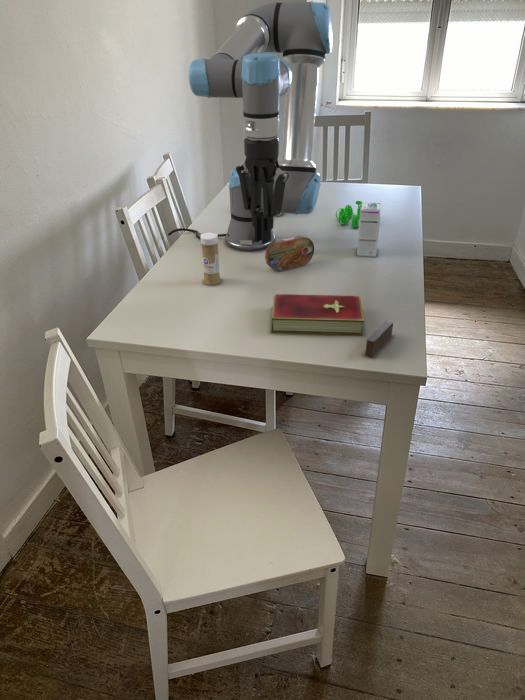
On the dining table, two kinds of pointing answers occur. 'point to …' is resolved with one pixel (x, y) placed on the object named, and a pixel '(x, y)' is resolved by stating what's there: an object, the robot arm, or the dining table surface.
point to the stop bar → (379, 338)
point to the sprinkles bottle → (210, 258)
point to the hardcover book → (317, 314)
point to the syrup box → (368, 229)
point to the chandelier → (349, 215)
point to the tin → (289, 253)
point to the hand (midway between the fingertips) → (262, 240)
